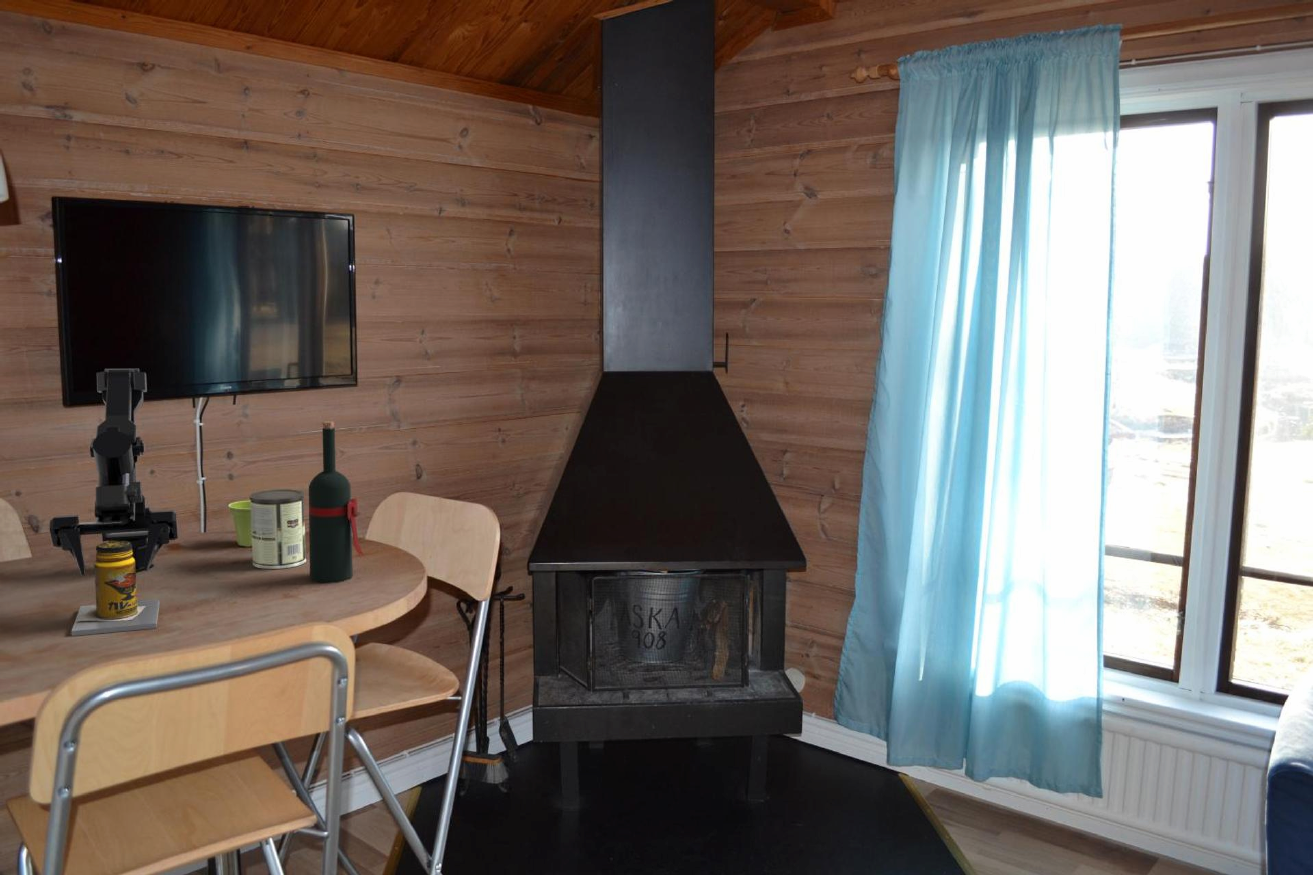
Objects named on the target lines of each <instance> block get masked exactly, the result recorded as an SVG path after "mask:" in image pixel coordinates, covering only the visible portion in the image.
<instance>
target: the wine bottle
mask: <svg viewBox="0 0 1313 875" xmlns="http://www.w3.org/2000/svg"><path fill="white" fill-rule="evenodd" d="M335 431H336V428H335V421H332V420H331V421H329V420H328V421H327V420H325V421H323V422H322V464H323V465H322V468H323V469H322V471H321V472H319V473H318V474H316V475H315V476H313V478H312V479H311V481H310V483H309V485H308V529H309V530H308V532H309V534H308V535H309V537H308V539H309V540H308V541H309V580H310V581H312V582H315V583H321V584H331V583H330V582H335V583H341V582H340V581H342V582H345V581H344V580H346V581H348V580H347V579H349V578H351V579H352V578H353V576H354V572H353V569H354V566H353V546H354V547H355V550H356V552H357V553H358V556H359V558H362V557H361V555H362V556H365V555H364V553H363V551H362V549H361V546H360V543H359V537H358V530H357V521H356V520H357V519H356V518H357V517H358V499H357V497H353V498H351V497H352V494H351V493H352V492H351V491H352V488H351V483H350V480H349V479H348V478H347V477H346V476H345V474H342V473H341V472H339V471H337V470H336V433H335ZM349 580H350V579H349ZM328 582H329V583H328Z"/></svg>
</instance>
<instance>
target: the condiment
mask: <svg viewBox="0 0 1313 875" xmlns="http://www.w3.org/2000/svg"><path fill="white" fill-rule="evenodd" d="M95 551H96V553H95V561H94V564H93V565H94V568H93V569H94V586H95V587H94V589H95V605H96V607H92V608H91V609H90V610H89V611H88V612H87V613H86V614H85V615H84V616H82V617H81V618H80V619H78V620H77V621H96V620H97V621H121V620H132V619H133V618H134V617H136V616H137V615H138V614H139V613H140V612H141V611H142V610H143V609H144V608H145V607H146V606H138V602H137V601H138V594H137V593H138V592H137V591H138V590H137V588H138V587H137V572H136V563H135V559H134V558H133V557H132V555H133V552H132V544H131V543H130V542H127V541H105V542H101V543H98V544H97V545H96V547H95ZM137 606H138V607H137ZM94 617H95V618H94Z"/></svg>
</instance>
